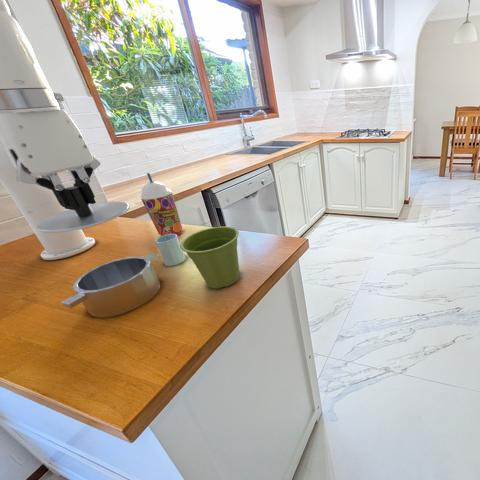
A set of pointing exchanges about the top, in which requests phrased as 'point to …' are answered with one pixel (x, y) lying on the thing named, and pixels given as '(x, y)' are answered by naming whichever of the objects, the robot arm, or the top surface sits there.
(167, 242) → the measuring cup
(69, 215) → the lid
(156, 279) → the silver cooking pot
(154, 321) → the top surface
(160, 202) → the smoothie
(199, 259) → the plant pot
